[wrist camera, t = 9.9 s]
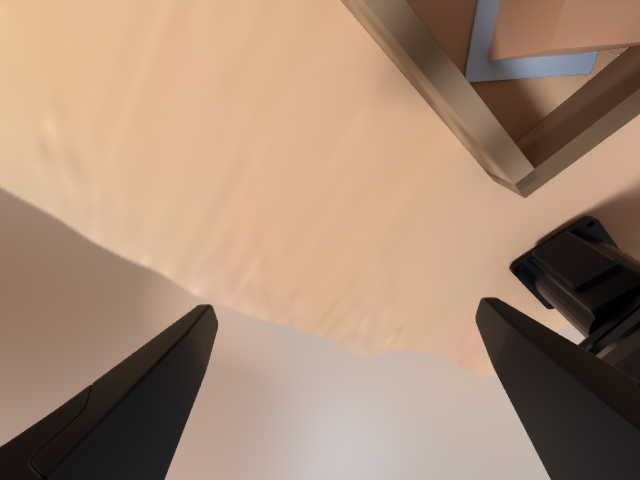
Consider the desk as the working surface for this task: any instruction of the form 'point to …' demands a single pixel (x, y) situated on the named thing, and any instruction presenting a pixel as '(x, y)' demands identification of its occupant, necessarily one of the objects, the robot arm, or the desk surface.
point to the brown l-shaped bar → (478, 121)
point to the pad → (514, 68)
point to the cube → (563, 27)
